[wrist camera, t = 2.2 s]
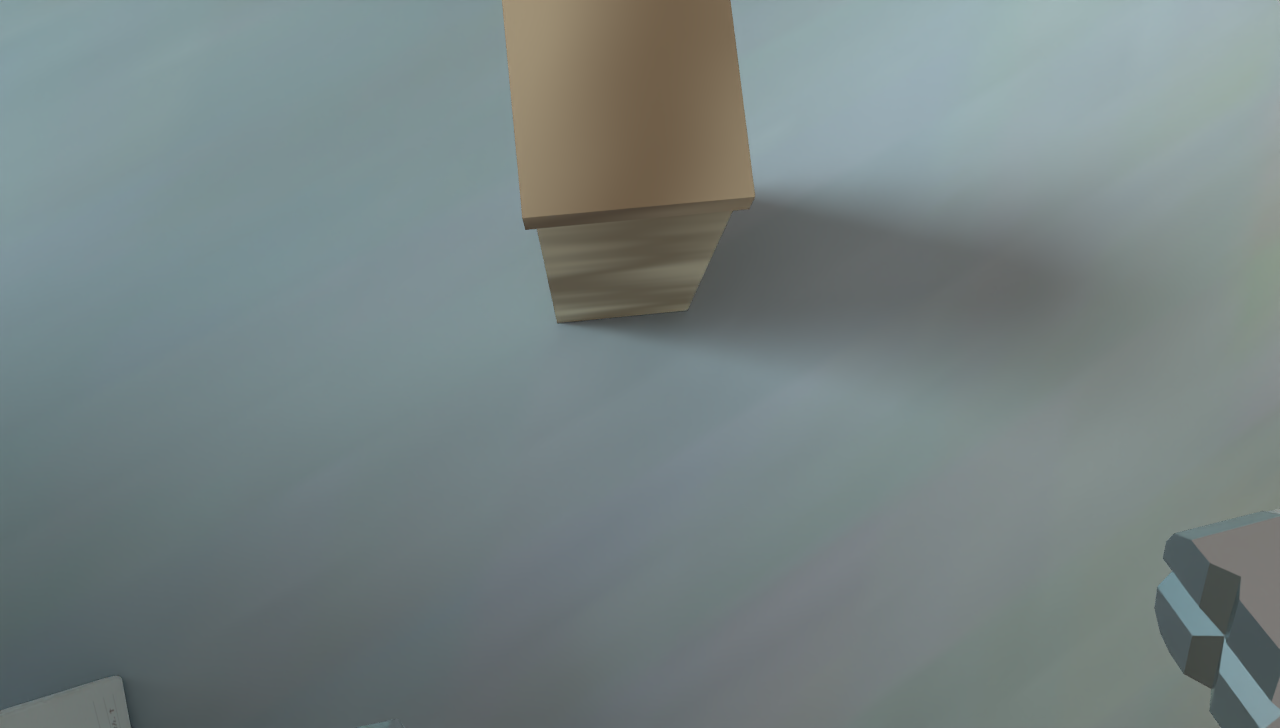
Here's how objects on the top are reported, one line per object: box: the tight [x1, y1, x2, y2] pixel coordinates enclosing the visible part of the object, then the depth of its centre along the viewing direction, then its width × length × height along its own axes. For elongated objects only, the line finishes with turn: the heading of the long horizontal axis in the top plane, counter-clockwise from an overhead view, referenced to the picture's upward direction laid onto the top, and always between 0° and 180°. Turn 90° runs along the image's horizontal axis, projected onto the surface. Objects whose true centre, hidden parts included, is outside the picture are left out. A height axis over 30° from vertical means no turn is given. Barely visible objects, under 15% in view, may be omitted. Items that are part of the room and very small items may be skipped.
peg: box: [502, 0, 755, 323], centre depth 25 cm, size 4×4×12 cm
